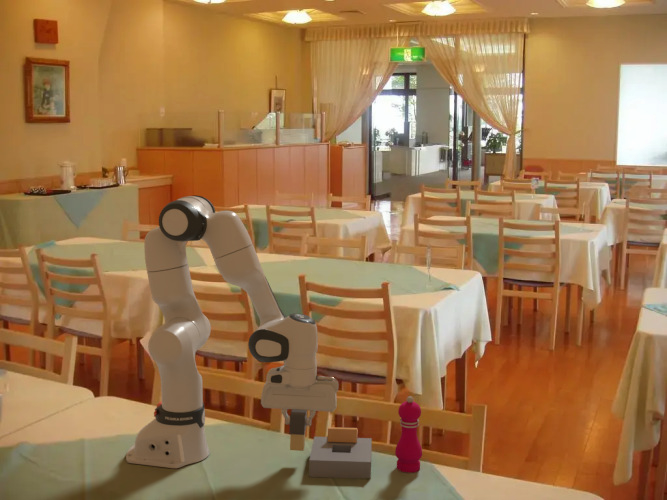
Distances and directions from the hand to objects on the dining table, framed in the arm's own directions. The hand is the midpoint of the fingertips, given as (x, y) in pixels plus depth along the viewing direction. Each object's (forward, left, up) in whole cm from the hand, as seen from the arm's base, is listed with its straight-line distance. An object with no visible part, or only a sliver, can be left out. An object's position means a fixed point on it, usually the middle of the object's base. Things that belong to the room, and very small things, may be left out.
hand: (298, 424), depth 218 cm
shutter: (+12, +8, -6) cm, 16 cm away
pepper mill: (+30, -1, -11) cm, 32 cm away
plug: (0, 0, -7) cm, 7 cm away
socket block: (+12, 0, -11) cm, 16 cm away
